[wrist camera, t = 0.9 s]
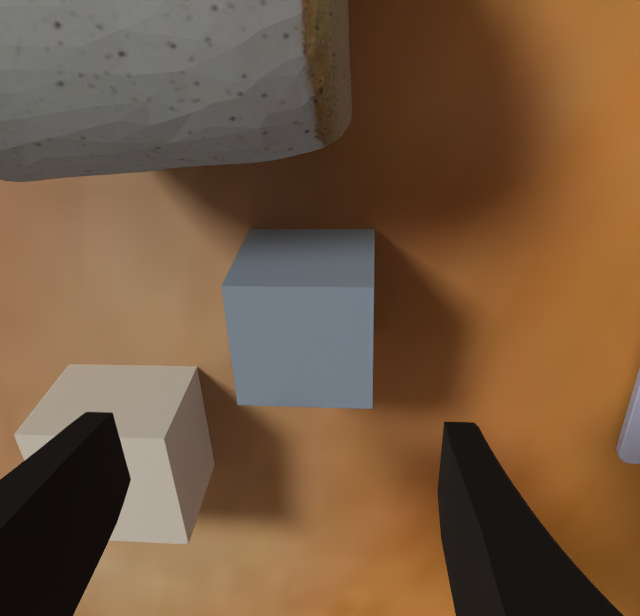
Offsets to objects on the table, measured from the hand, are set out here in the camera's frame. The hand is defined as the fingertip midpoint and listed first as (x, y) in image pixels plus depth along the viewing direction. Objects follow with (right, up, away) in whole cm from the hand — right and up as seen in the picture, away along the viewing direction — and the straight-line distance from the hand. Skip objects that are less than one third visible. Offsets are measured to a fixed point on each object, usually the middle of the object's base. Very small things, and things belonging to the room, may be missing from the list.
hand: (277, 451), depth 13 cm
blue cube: (+1, +4, +7) cm, 8 cm away
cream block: (-6, -1, +11) cm, 12 cm away
